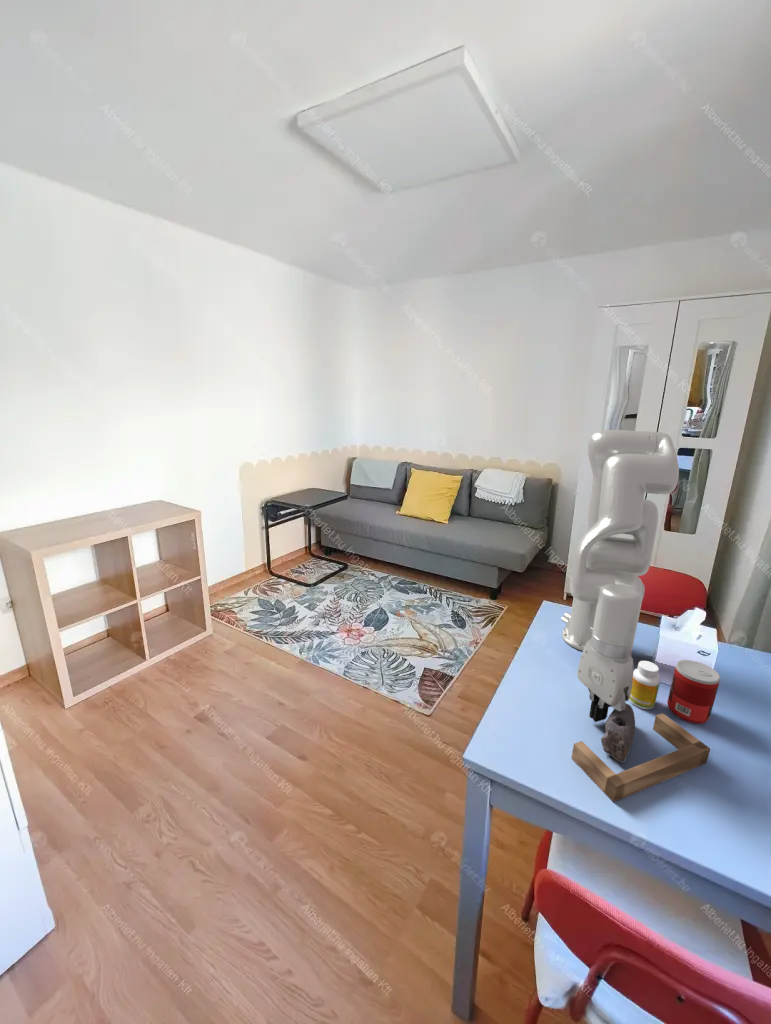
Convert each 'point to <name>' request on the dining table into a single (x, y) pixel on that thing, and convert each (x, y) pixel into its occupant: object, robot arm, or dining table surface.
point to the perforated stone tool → (619, 733)
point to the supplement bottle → (645, 685)
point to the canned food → (693, 691)
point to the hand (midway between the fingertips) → (597, 717)
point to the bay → (647, 773)
